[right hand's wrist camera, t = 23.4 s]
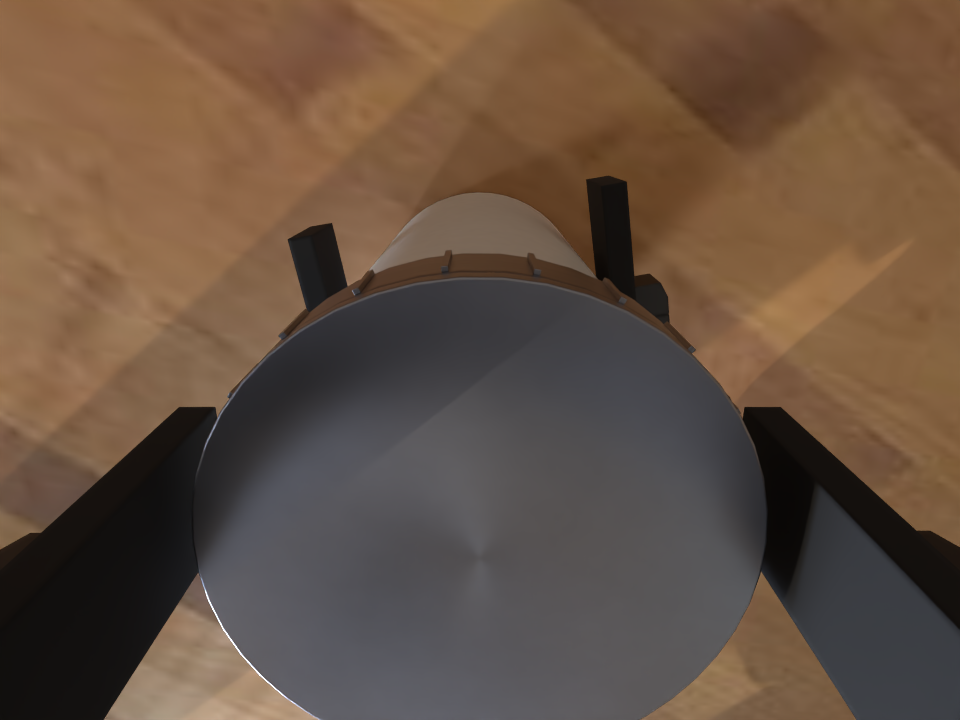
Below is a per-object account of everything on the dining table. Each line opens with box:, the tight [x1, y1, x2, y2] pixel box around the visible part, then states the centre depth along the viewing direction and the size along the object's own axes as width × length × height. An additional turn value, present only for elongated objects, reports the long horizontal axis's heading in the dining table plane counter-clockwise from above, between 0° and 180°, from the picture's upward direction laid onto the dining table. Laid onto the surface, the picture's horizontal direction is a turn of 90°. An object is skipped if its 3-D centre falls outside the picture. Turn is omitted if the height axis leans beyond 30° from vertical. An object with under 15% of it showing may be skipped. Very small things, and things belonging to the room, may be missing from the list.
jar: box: [370, 192, 597, 279], centre depth 19 cm, size 9×9×17 cm
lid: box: [192, 250, 768, 720], centre depth 11 cm, size 10×10×2 cm
